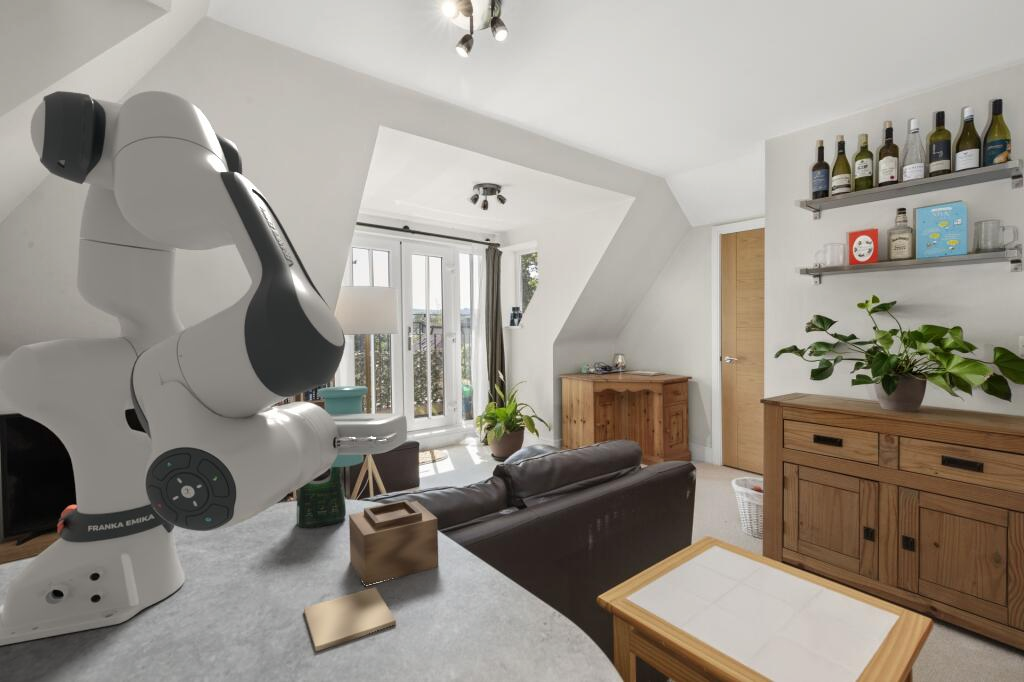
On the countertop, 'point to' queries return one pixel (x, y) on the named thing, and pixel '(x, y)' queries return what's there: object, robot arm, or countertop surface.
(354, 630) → the cork mat
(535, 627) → the countertop surface
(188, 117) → the robot arm
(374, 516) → the walnut box
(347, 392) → the stopper cap
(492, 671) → the countertop surface
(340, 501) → the coffee jar
